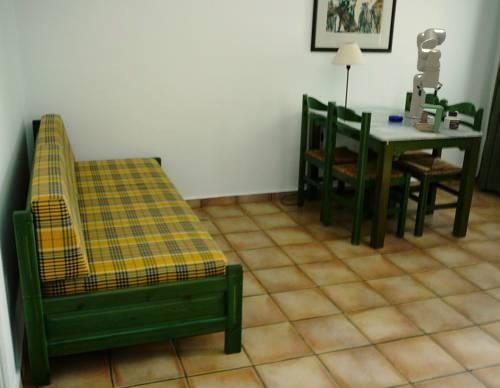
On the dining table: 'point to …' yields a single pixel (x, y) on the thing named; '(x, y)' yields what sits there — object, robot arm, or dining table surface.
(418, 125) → the tan shallow oval bowl
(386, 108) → the dining table surface
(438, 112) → the pale green arch
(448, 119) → the medicine bottle
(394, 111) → the dining table surface
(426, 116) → the peg
